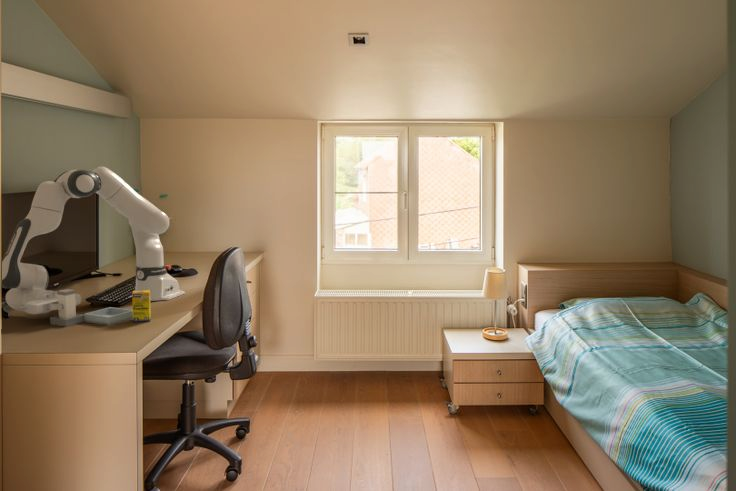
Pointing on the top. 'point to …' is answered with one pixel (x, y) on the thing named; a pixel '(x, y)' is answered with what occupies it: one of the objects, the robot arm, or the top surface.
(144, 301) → the supplement box
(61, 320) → the socket
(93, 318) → the tray
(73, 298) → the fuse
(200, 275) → the top surface
